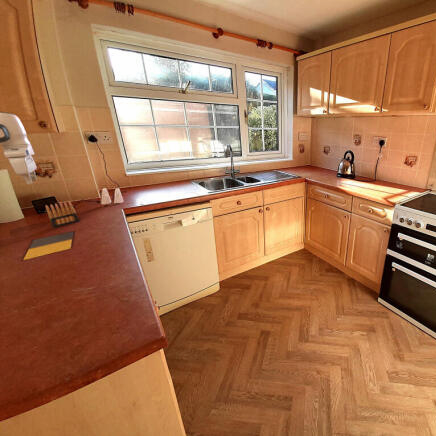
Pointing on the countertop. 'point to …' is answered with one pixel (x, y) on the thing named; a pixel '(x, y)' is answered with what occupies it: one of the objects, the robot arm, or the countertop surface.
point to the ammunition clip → (62, 215)
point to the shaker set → (106, 197)
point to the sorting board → (49, 245)
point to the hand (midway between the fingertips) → (32, 181)
